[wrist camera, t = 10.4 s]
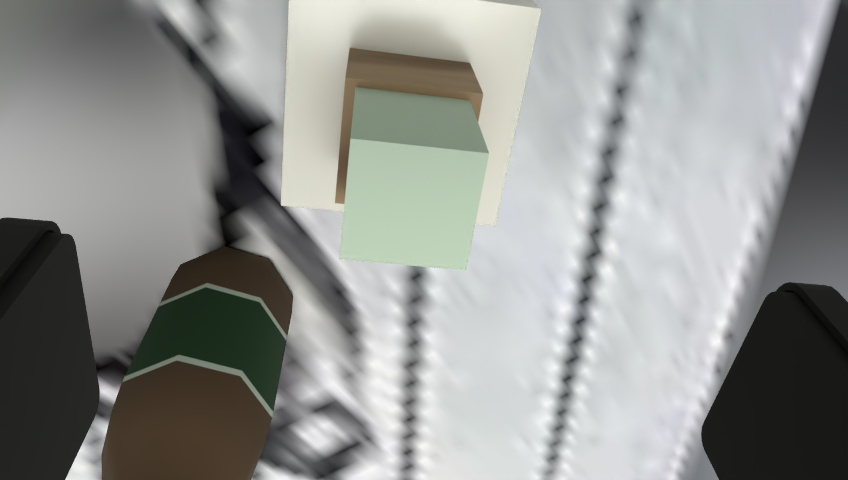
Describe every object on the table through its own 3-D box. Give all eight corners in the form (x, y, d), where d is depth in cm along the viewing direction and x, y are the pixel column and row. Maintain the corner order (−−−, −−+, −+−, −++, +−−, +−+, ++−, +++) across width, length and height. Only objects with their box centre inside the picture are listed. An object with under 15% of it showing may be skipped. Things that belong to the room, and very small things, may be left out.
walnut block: (349, 47, 33) (345, 77, 29) (470, 62, 34) (483, 94, 30) (340, 160, 36) (334, 203, 32) (451, 172, 37) (460, 215, 33)
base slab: (295, -34, 34) (289, -26, 31) (531, -2, 35) (541, 9, 33) (286, 185, 39) (280, 205, 37) (488, 206, 41) (494, 225, 39)
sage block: (355, 86, 29) (350, 138, 24) (469, 100, 30) (489, 153, 25) (345, 191, 32) (339, 258, 26) (451, 202, 32) (465, 270, 27)
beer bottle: (301, 341, 45) (236, 761, 24) (182, 346, 45) (13, 778, 24) (288, 239, 41) (197, 635, 20) (157, 244, 41) (-70, 652, 20)
